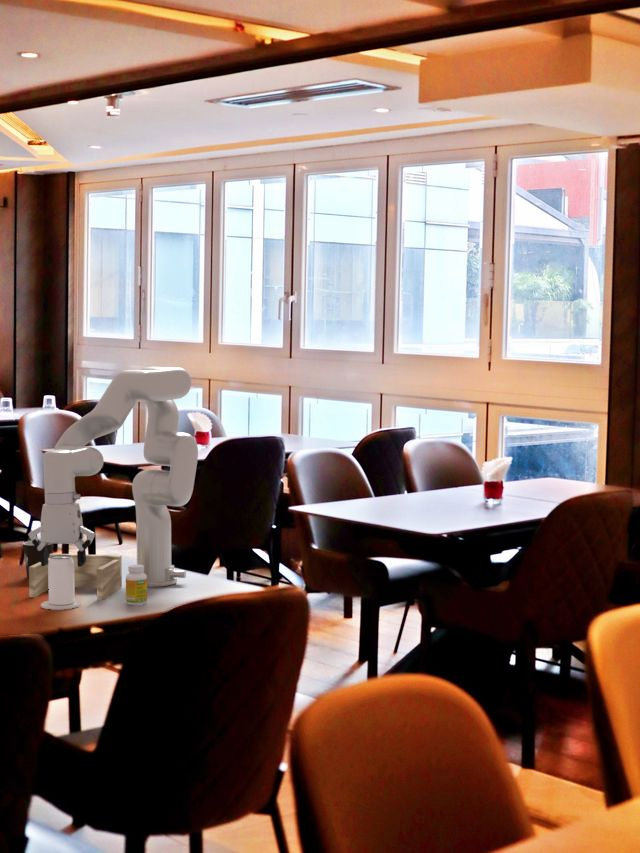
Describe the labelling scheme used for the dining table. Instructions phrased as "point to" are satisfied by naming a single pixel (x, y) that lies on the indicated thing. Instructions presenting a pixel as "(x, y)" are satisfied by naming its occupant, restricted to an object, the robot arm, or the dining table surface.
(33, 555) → the coffee mug
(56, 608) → the coaster
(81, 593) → the dining table surface
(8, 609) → the dining table surface
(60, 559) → the can
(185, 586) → the dining table surface
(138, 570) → the supplement bottle
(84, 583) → the wooden arch stand
